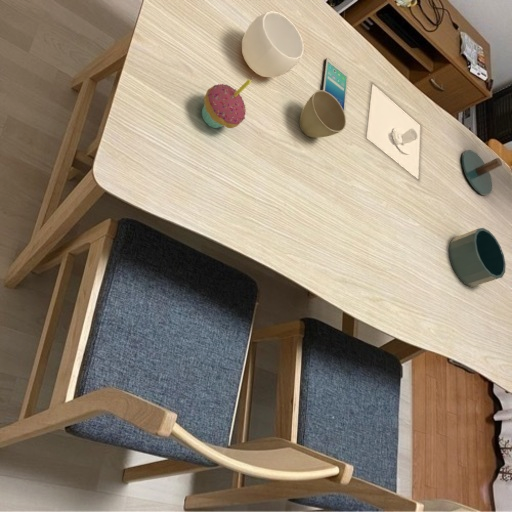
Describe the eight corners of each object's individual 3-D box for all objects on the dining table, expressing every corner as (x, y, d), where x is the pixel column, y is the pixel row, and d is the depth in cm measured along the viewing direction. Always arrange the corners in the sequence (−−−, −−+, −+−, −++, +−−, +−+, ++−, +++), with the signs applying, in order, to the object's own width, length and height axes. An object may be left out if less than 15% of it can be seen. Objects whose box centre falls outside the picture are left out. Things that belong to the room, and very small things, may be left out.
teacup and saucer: (388, 142, 147) (401, 134, 144) (390, 120, 151) (402, 112, 148) (410, 160, 151) (423, 153, 148) (411, 138, 155) (424, 131, 152)
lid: (484, 162, 180) (508, 150, 174) (492, 202, 174) (517, 191, 168) (457, 144, 172) (481, 131, 166) (463, 186, 165) (489, 174, 160)
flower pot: (326, 124, 132) (348, 108, 127) (319, 155, 127) (343, 140, 122) (294, 98, 128) (316, 81, 123) (286, 129, 123) (309, 112, 118)
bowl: (475, 246, 158) (500, 236, 153) (483, 292, 152) (509, 283, 147) (445, 231, 151) (471, 221, 145) (452, 279, 145) (479, 270, 140)
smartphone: (348, 73, 144) (344, 116, 137) (345, 74, 145) (342, 118, 137) (327, 56, 141) (322, 99, 133) (324, 58, 141) (319, 101, 134)
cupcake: (201, 89, 110) (238, 53, 102) (234, 116, 114) (273, 84, 105) (187, 119, 105) (225, 84, 97) (223, 146, 109) (262, 115, 100)
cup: (284, 71, 129) (314, 46, 122) (262, 97, 121) (292, 71, 114) (247, 28, 126) (275, -1, 119) (222, 51, 118) (251, 22, 111)
